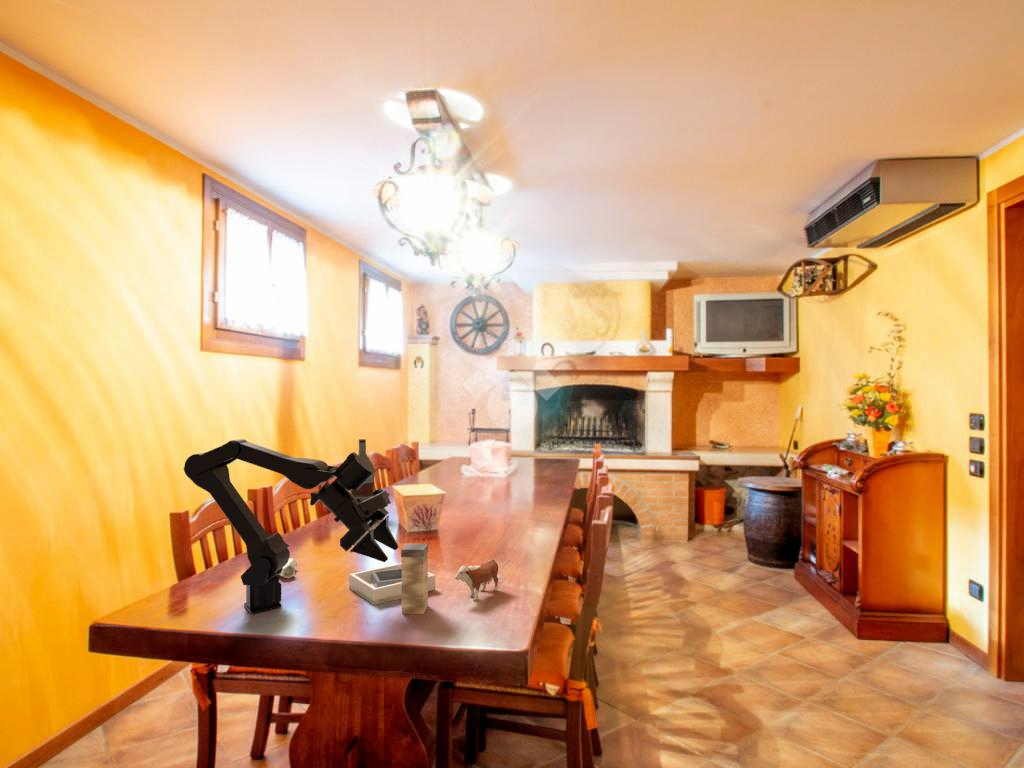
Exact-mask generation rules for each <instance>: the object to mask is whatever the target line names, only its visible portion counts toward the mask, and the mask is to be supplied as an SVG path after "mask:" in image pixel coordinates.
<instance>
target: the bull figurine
mask: <svg viewBox="0 0 1024 768" xmlns="http://www.w3.org/2000/svg"><path fill="white" fill-rule="evenodd" d="M498 572H499V565H498V563H497V562H496V560H494V559H491V560H489V561H486V562H483V563H481V564H479V565H469V566H468V567H467V566H466V565H462V566H461V567H460V568H459V569H458V571H457V573H456V575H454V580H456V581H459V580H460V581H461V582H463V583H464V582H465V584H466V585H467V586H468V588H469V589H470V592H471V593H470V595H469V598H473V597H474V598H473V601H474V602H478V600H479V593H480V592H484V591H485V590H487V589H486V588H487V584H488V585H489V584H490V582H492V581H493V582H494V588H493V592H497V591H498V590H499V587H498V584H499V577H498ZM481 585H482V587H481ZM474 589H475V590H474Z"/></svg>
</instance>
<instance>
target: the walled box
mask: <svg viewBox="0 0 1024 768" xmlns="http://www.w3.org/2000/svg"><path fill="white" fill-rule="evenodd" d="M348 577H349V585H348V586H349V589H350V590H351V591H352V592H355V594H357V595H358V596H360V597H362V598H363V599H365V600H366V601H367V602H369V603H370V604H372V605H373V606H376V605H380V604H384V603H388V602H392V601H396V600H399V599H402V562H399V563H394V564H391V565H386V566H381V567H377V568H373V569H372V568H371V569H367V570H363V571H359V572H354V573H349V575H348ZM434 590H436V575H435V574H433V573H432V572H429V571H428V592H430V591H434Z"/></svg>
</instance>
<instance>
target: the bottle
mask: <svg viewBox="0 0 1024 768" xmlns="http://www.w3.org/2000/svg"><path fill="white" fill-rule="evenodd" d="M366 443H367V439H365V438H364V439H363V438H362V439H360V438H359V439H358V454H357V455H358V456H361V457H362V458H364V459H365V460H368V461H369V462H370V463H371V464H372V466H373V467H374V464H373V462H372V460H371V459H370V458H369V456H368V454H367V444H366ZM374 468H375V467H374ZM375 476H376V472H375V473H374V474H373V475H372V476H371V477H370V478H369V479H368V480H367V481H366V482H365V483H364V484H363V485H362V486H361V487H360V488H359V489H358V490H353V489H352V490H350V493H351V494H352V495H353V496H354V497H355V498H358V497H359V498H360V497H361V498H362V499H363V500H366V499H369V498H370V497H372V495H373V491H374V489H375V488H374V486H375Z"/></svg>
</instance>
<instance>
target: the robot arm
mask: <svg viewBox="0 0 1024 768" xmlns="http://www.w3.org/2000/svg"><path fill="white" fill-rule="evenodd" d="M236 460H240V461H242V462H245V463H247V464H251V465H254V466H257V467H260V468H262V469H266V470H268V471H271V472H273V473H277V474H280V475H282V476H284V477H286V478H287V479H288V481H289V482H291V483H292V484H294V485H296V486H298V487H300V488H301V489H305V490H312V489H316V487H319V486H321V485H322V486H321V488H319V490H318V491H312V492H310V501H309V505H310V506H311V507H312V506H315V505H317V504H318V503H319V502H321V503H322V504H323V505H324V506H325V508H327V509H328V510H329V511H330V512H331V513H332V514H333V515H334V516H335V517H334V518H333V520H334V522H336V523H338V522H340V523H341V524H342V525H344V527H345V528H346V529H347V530H348V531H347V532H346V533H345V534H344V535H343V536H342V537H341V538H340V539H339V546H340V547H341V548H342V549H343V551H344V552H348V551H349V552H350V553H356V554H358V555H362V556H365V557H368V558H370V559H374V560H375V561H376V560H377V561H380V562H383V563H386V562H387V561H388V559H389V558H388V556H387V554H386V553H385V551H383V549H382V547H380V545H379V544H378V542H379V543H380V544H383V545H384V546H386V547H388V548H389V549H391V550H394V551H397V549H399V544H398V543H397V540H396V539H395V537H394V535H393V533H392V531H391V529H390V528H389V527H390V526H389V519H390V515H389V511H388V510H387V509H386V508H387V507H388V505H390V504H392V503H391V500H390V498H389V497H390V493H388V492H387V491H386V490H384V489H382V488H378V489H375V490H373V495H372V497H370V498H369V499H366V500H363V499H362V498H361V497H360V498H359V497H358V498H355V497H354V496H353V495H352V494H351V490H352V489H353V490H358V489H359V488H360V487H361V486H362V485H363V484H364V483H365V482H366V481H367V480H368V479H369V478H370V477H371V476H372V475H373V474H374V473H375V474H376V469H375V467H373V466H374V465H373V466H372V464H373V463H372V464H371V463H370V462H369V461H368V460H365V459H364V458H362V457H361V456H358V454H357V453H356V452H355V451H354V452H351V453H349V454H348V456H347V457H346V459H345V460H344V461H343V462H342V463H341V464H340V465H339V466H333V465H328V463H326V461H324V460H320V459H315V458H314V459H313V458H308V457H305V458H304V457H295V456H290V455H287V454H284V453H282V452H279V451H275V450H274V449H270V448H267V447H264V446H261V445H258V444H255V443H252V442H249V441H247V440H246V439H244V438H239V439H238V438H237V439H233V440H229V441H227V442H226V443H224V444H222V445H220V446H218V447H216V448H213V449H211V450H209V451H206V452H201V453H195V454H191V455H190V456H188V457H187V458H186V459H185V462H184V467H183V471H184V474H185V475H186V477H187V478H188V479H189V480H191V482H192V483H194V484H195V486H197V487H199V488H200V489H202V490H204V491H205V492H207V493H208V494H209V495H210V496H211V497H212V499H213V500H214V501H215V502H216V504H217V506H218V507H219V509H220V510H221V511H222V513H223V514H224V516H225V517H226V518H227V520H228V521H229V522H230V524H231V526H232V527H233V528H234V530H235V532H236V533H237V534H238V536H239V537H240V539H241V540H242V541H243V543H244V544H245V546H246V547H245V548H246V555H247V560H248V561H249V564H250V566H249V567H248V568H247V569H246V570H245V571H244V572H243V573H242V574H241V575H240V579H241V583H242V585H243V586H245V588H246V590H245V594H246V595H245V596H246V597H245V599H246V600H245V602H244V604H243V606H244V607H245V608H246V609H247V610H248V612H249V613H250V614H256V613H261V612H265V611H268V610H273V609H277V608H281V607H282V603H281V602H282V583H281V582H280V578H279V575H278V574H280V573H281V572H282V569H283V567H284V566H285V565H286V564H287V563H288V561H289V559H290V556H291V554H290V549H289V547H290V545H289V544H288V543H286V542H285V540H284V538H283V537H282V535H281V533H280V532H276V533H274V534H271V533H269V532H268V531H267V530H266V529H264V527H263V525H262V524H261V523H260V522H259V520H258V518H257V517H256V516H255V514H254V512H253V511H252V510H251V509H250V507H249V506H248V504H247V503H246V502H245V500H244V499H243V497H242V496H241V495H240V493H239V492H238V490H237V489H236V487H235V486H234V484H232V481H231V478H230V477H231V476H230V471H229V470H230V469H229V467H228V465H230V464H231V463H233V462H235V461H236ZM334 478H335V479H334ZM332 479H334V480H333V481H332V482H331V483H328V482H329V480H332ZM323 484H324V485H323ZM387 515H388V516H387Z"/></svg>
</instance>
